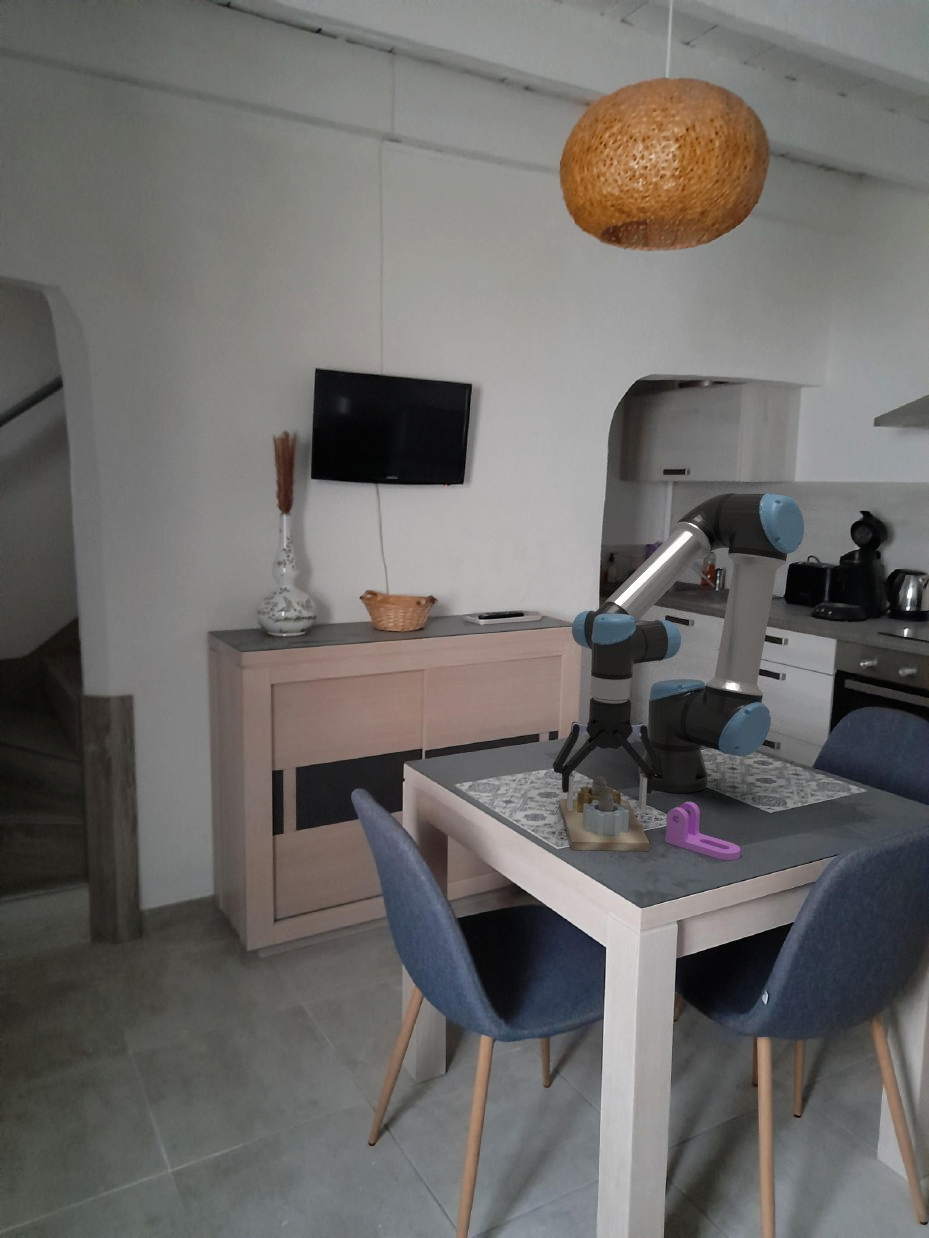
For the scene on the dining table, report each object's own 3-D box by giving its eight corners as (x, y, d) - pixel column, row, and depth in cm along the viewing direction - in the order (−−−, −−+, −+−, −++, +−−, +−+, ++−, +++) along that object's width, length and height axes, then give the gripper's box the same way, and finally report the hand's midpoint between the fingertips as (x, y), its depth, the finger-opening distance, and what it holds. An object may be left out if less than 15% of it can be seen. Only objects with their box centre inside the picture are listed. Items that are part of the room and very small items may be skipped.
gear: (623, 820, 170) (624, 800, 170) (630, 836, 162) (631, 815, 161) (580, 819, 170) (581, 799, 170) (586, 835, 162) (587, 815, 161)
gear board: (627, 807, 181) (629, 766, 180) (649, 850, 160) (651, 804, 158) (559, 806, 181) (560, 764, 180) (571, 849, 160) (573, 802, 158)
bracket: (665, 842, 164) (667, 806, 163) (680, 834, 168) (682, 799, 167) (731, 863, 155) (733, 825, 154) (745, 854, 159) (747, 817, 158)
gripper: (673, 694, 166) (667, 802, 169) (541, 692, 166) (537, 800, 169) (683, 704, 159) (677, 817, 162) (544, 701, 159) (540, 814, 162)
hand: (605, 809), depth 166 cm, fingers open, 13 cm apart
